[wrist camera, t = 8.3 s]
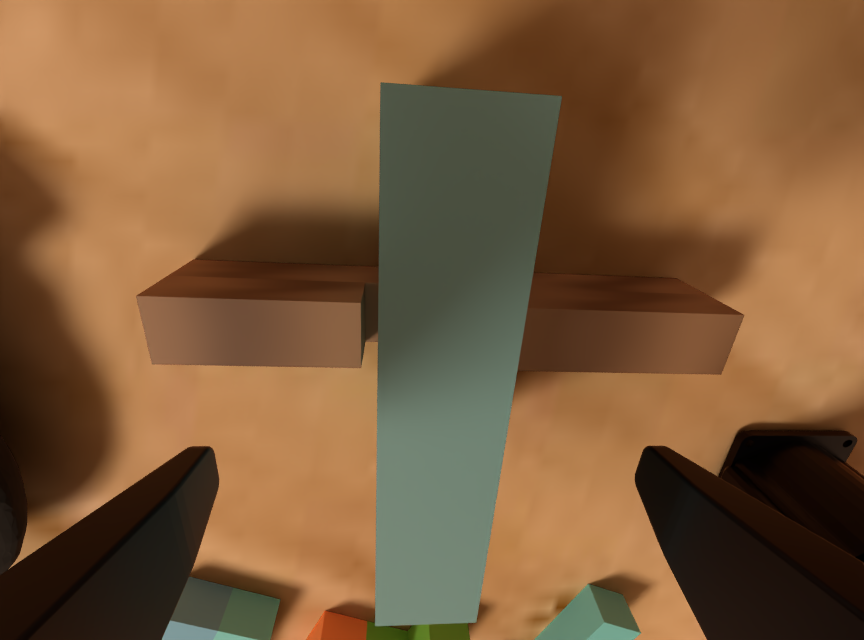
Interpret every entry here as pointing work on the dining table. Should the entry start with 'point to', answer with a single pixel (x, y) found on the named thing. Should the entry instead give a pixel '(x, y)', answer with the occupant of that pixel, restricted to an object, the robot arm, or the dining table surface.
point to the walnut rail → (358, 320)
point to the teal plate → (450, 331)
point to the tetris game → (346, 636)
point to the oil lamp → (11, 509)
